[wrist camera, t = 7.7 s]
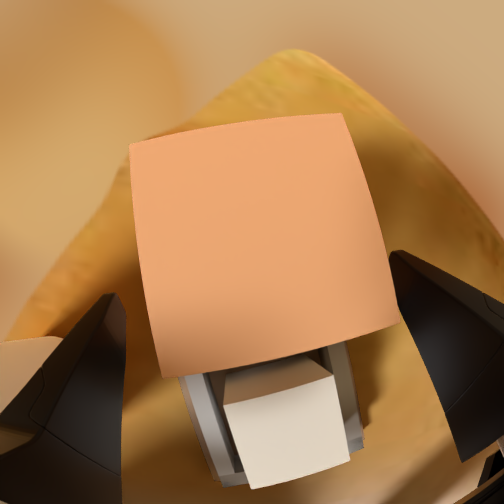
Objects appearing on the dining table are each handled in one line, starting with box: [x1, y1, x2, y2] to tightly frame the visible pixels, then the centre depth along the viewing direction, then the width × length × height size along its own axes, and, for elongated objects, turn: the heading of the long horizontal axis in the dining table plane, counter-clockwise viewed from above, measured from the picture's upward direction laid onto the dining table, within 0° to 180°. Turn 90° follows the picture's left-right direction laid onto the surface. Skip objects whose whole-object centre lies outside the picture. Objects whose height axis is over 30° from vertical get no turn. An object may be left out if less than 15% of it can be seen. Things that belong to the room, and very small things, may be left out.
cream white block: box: [223, 354, 350, 490], centre depth 15 cm, size 5×5×6 cm
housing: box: [178, 340, 365, 488], centre depth 17 cm, size 19×11×4 cm, turn 14°
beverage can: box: [0, 336, 63, 413], centre depth 12 cm, size 8×8×12 cm
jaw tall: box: [129, 113, 400, 379], centre depth 12 cm, size 5×5×13 cm
